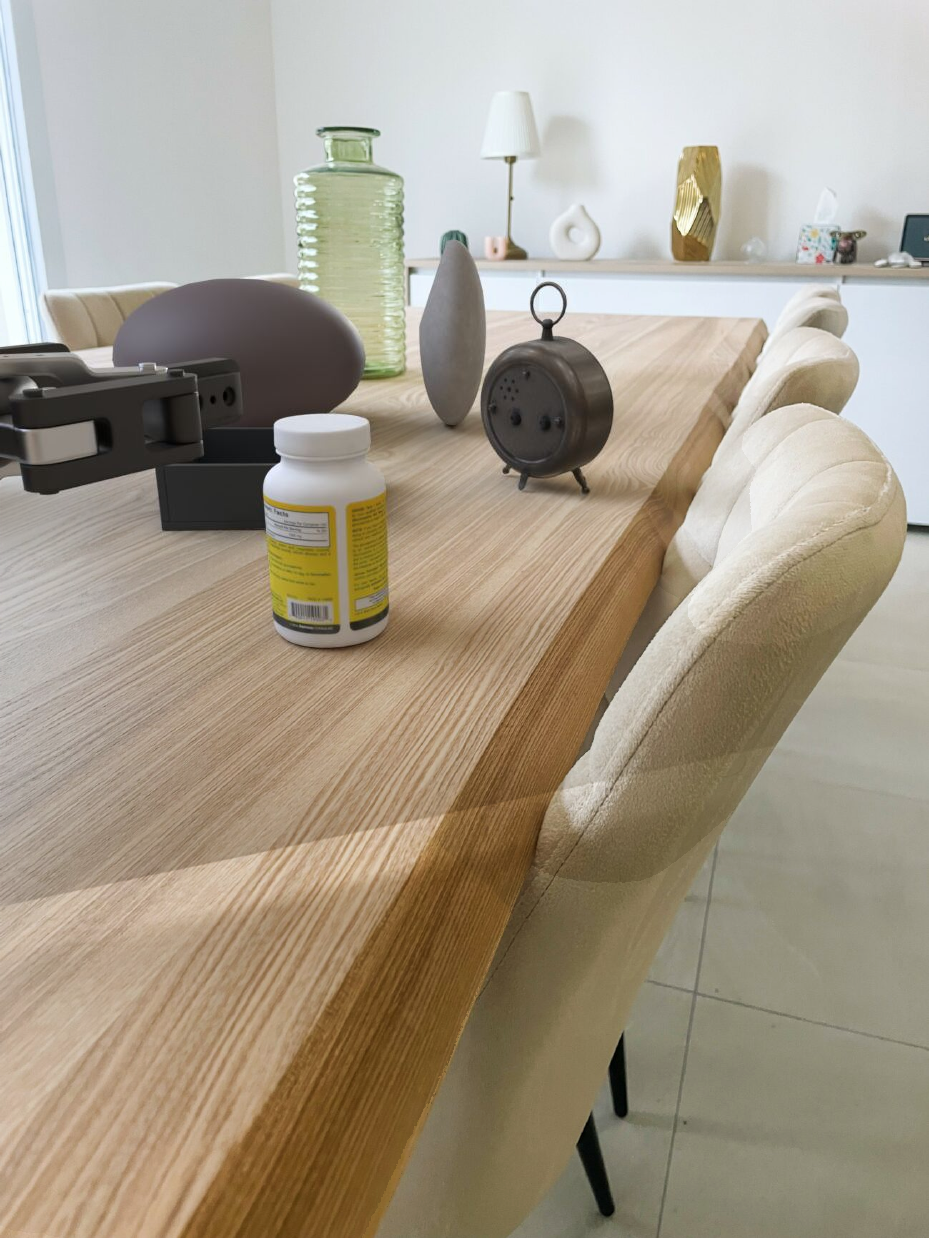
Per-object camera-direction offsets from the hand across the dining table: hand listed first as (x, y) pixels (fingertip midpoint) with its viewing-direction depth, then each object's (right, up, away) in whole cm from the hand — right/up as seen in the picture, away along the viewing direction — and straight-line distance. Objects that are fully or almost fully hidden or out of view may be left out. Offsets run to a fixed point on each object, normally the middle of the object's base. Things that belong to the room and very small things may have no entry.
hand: (146, 379), depth 35 cm
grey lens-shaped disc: (+11, +12, +67) cm, 69 cm away
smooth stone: (-11, +11, +62) cm, 64 cm away
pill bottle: (+5, -10, +15) cm, 18 cm away
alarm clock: (+18, +2, +43) cm, 47 cm away
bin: (-3, 0, +37) cm, 37 cm away
